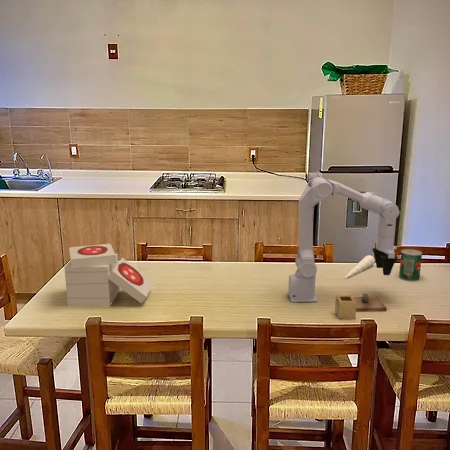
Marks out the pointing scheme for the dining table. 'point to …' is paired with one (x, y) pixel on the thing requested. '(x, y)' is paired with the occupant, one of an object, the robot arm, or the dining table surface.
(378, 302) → the post stand
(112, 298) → the pizza boxes
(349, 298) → the brass collar
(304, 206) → the robot arm
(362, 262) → the unicorn horn
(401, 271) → the canned tomato
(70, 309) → the dining table surface
